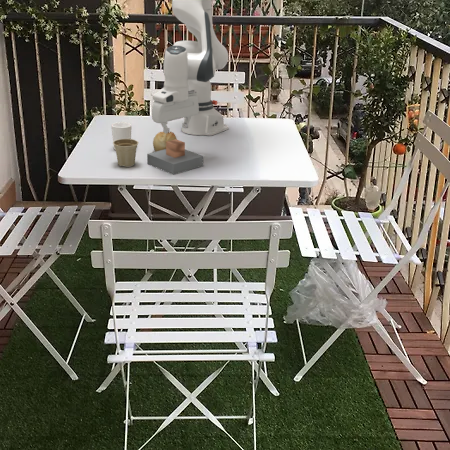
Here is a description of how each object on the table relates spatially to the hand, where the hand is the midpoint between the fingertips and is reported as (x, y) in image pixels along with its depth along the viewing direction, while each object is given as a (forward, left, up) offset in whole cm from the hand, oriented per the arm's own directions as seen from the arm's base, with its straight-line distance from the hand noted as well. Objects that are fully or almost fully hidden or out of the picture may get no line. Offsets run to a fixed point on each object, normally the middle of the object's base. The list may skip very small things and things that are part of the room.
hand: (176, 130), depth 218 cm
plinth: (0, 0, -14) cm, 14 cm away
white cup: (+4, -28, -14) cm, 31 cm away
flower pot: (+14, -12, -14) cm, 23 cm away
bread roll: (-7, -15, -14) cm, 22 cm away
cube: (0, 0, -10) cm, 10 cm away
